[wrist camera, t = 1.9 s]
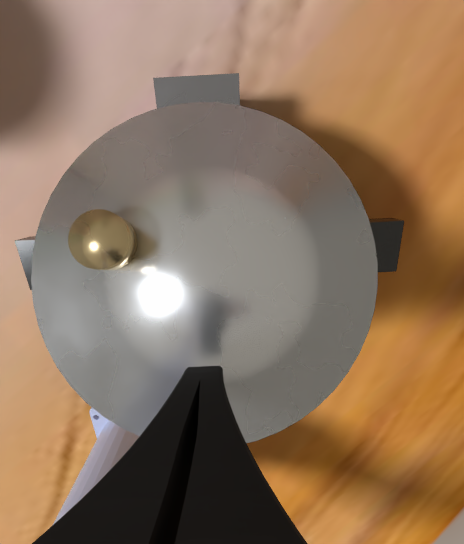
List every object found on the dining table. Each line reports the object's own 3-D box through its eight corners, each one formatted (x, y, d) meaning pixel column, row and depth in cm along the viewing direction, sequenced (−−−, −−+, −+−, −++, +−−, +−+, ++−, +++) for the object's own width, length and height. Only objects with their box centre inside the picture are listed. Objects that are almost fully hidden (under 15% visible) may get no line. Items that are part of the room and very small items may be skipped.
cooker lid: (373, 424, 12) (404, 456, 10) (55, 439, 12) (16, 474, 10) (353, 110, 13) (379, 74, 10) (45, 127, 13) (6, 95, 10)
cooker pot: (357, 321, 21) (385, 351, 17) (84, 334, 21) (52, 367, 17) (383, 91, 16) (432, 62, 12) (25, 111, 16) (-38, 88, 12)
